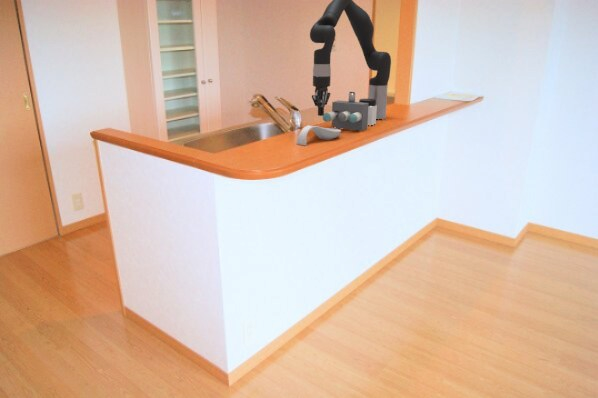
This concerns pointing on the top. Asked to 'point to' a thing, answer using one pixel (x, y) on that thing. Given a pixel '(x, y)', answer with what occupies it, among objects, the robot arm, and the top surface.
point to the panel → (352, 108)
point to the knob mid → (343, 116)
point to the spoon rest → (317, 133)
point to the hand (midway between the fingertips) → (320, 115)
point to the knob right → (355, 117)
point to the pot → (351, 97)
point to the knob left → (330, 116)
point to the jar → (371, 110)
